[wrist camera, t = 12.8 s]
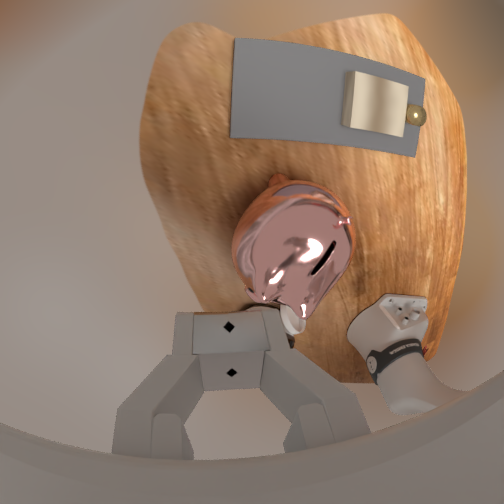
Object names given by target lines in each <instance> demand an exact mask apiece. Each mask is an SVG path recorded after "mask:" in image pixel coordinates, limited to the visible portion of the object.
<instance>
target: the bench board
mask: <svg viewBox="0 0 504 504" xmlns="http://www.w3.org/2000/svg"><path fill="white" fill-rule="evenodd" d="M351 71H357V72H361V73H365V74H369V75H373V76H377V77H380V78H384V79H387V80H390V81H394V82H397V83H400V84H403V85H406V86H409V89H408V100H407V104H413V105H419V106H421V107H423V100H424V90H425V79H424V78H422V77H419V76H417V75H414V74H412V73H409V72H406V71H403V70H401V69H398V68H395V67H392V66H389V65H386V64H383V63H380V62H376V61H373V60H370V59H366V58H363V57H359V56H355V55H351V54H347V53H343V52H339V51H334V50H330V49H325V48H320V47H314V46H309V45H303V44H296V43H289V42H281V41H272V40H262V39H247V38H235V40H234V57H233V75H232V95H231V118H230V138H254V139H276V140H292V141H304V142H315V143H325V144H334V145H342V146H350V147H357V148H364V149H371V150H377V151H383V152H389V153H394V154H399V155H405V156H410V157H414V158H415V155H416V150H417V144H418V138H419V132H420V126H415V125H411V124H408V123H405V125H404V132H403V137H398V136H394V135H389V134H384V133H379V132H374V131H368V130H363V129H357V128H351V127H347V126H344V125H341V120H342V110H343V99H344V88H345V74H346V72H351Z"/></svg>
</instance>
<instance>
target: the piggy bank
mask: <svg viewBox="0 0 504 504" xmlns="http://www.w3.org/2000/svg"><path fill="white" fill-rule="evenodd" d="M352 219H353V217H351V215H350V212H349V210H348V209H347V207H346V205H345V204H344V203H343V201H342V200H341V199H340V198H339V197H338V196H337V195H336V194H335V193H333V192H332V191H331V190H329V189H328V188H326V187H324V186H322V185H320V184H317V183H314V182H310V181H303V180H289V179H288V178H287V177H286V176H285V175H283V174H280V173H278V174H275V175H273V176H272V177H271V178H270V179H269V182H268V188H267V189H266V190H265V191H263V192H262V193H261V194H260V195H259V196H257V197H256V198H255V199H254V201H253V202H252V203H251V204H250V205H249V206H248V208H247V209H246V210H245V212H244V213H243V215H242V216H241V218H240V220H239V222H238V224H237V226H236V229H235V231H234V235H233V239H232V246H231V254H232V260H233V264H234V267H235V269H236V272H237V274H238V275H239V277H240V279H241V280H242V281H243V283H244V284H245V285H246V286H245V292H246V293H247V295H248V296H249V297H250V298H251V299H252V300H253V301H255V302H257V303H269V302H272V303H276V304H281V305H285V306H289V307H290V308H291V309H292V310H293V311H294V313H295V314H296V315H297V316H298V317H299V318H300V319H302V320H306V319H308V318H309V317H310V316H311V315H312V313H313V312H314V311H315V309H316V308H317V306H318V305H319V304H320V302H321V301H322V299H323V298H324V297H325V296H326V295H327V293H328V292H329V291H330V290H331V289H332V288H333V287H334V285H335V284H336V283H337V282H338V281H339V279H340V278H341V277H342V275H343V274H344V273H345V271H346V270H347V268H348V266H349V264H350V262H351V260H352V258H353V255H354V252H355V246H356V232H355V227H354V223H353V220H352Z"/></svg>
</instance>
